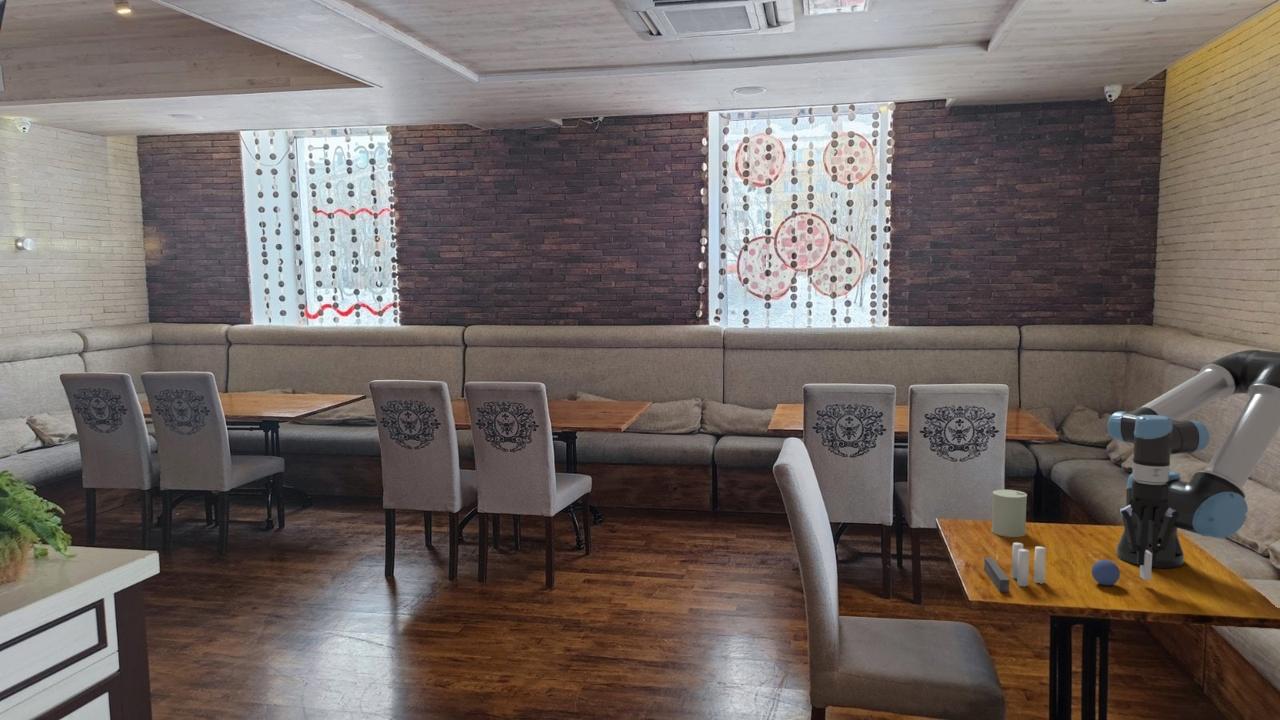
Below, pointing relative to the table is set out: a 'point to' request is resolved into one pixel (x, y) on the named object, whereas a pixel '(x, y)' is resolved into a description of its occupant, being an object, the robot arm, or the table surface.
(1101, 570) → the ball
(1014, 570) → the pin back right
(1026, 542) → the table surface
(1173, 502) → the robot arm
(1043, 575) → the pin front
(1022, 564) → the pin back left
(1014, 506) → the can
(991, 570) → the back wall
